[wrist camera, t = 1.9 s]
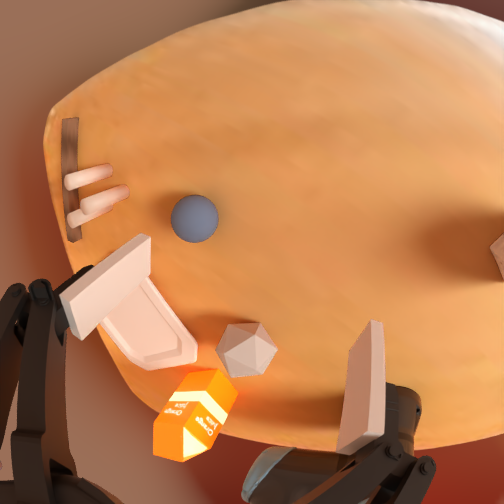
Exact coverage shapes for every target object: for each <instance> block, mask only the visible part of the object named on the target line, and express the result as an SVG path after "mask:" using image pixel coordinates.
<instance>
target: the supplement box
mask: <svg viewBox="0 0 504 504" xmlns="http://www.w3.org/2000/svg"><path fill="white" fill-rule="evenodd" d="M490 250H491V252H492V253H493V255H494V257H495V260H496V262H497V264H498V267H499V269H500V272H501V274H502V277H503V280H504V233H503V234H502V235H501V236H500V237H499V238H498V239H497V240H496V241H495V242H494V243H493V244H492V245H491V246H490Z"/></svg>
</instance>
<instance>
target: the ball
mask: <svg viewBox="0 0 504 504" xmlns="http://www.w3.org/2000/svg"><path fill="white" fill-rule="evenodd" d="M171 224H172V228H173V230H174V232H175V233H176V234H177V235H178V237H180V238H181V239H183V240H185V241H187V242H192V243H197V242H202V241H204V240H206V239H208V238H209V237H210V236H211V235H212V234H213V233H214V232H215V230H216V228H217V225H218V212H217V209H216V207H215V206H214V204H213V203H212V202H211V201H210V200H209V199H207V198H205V197H203V196H199V195H190V196H187V197H184V198H183V199H181V200H180V201H179V202H178V203H177V204H176V205H175V207H174V208H173V211H172V214H171Z"/></svg>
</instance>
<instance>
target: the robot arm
mask: <svg viewBox="0 0 504 504" xmlns="http://www.w3.org/2000/svg"><path fill="white" fill-rule="evenodd" d="M150 253H151V237H150V236H147V235H145V234H142V233H140V234H138V235H137V236H135V237H134V238H133V239H131V240H130V241H128V242H127V243H126V244H124V245H123V246H121V247H120V248H119V249H117V250H116V251H115V252H113V253H112V254H111V255H109V256H108V257H107V258H105V259H104V260H103V261H101V262H100V263H99V264H97V265H96V266H93V265H89V266H86V267H84V268H82V269H81V270H79V271H78V272H77V273H76V274H74V275H73V276H72V277H71V278H69V279H68V280H67V281H65V282H64V283H63V284H61V285H60V286H59V287H58V288H56V289H55V290H54V291H53V290H52V287H51V284H50V282H49V281H48V280H46V279H37V280H35V281H33V282H32V283H31V284H30V285H29V287H28V289H29V292H30V293H28V292H27V290H26V288H25V286H24V285H23V284H21V283H16V284H13V285H11V286H10V287H9V288H8V289H7V291H6V292H5V294H4V296H3V297H2V299H1V301H0V449H1V446H2V443H3V439H4V435H5V430H6V425H7V420H8V416H9V411H10V407H11V404H12V400H13V397H14V393H15V390H16V387H17V383H18V380H19V385H18V401H17V429H16V430H15V431H13V432H12V434H11V457H12V468H13V477H14V480H8V481H0V504H124V503H122V502H121V501H120V500H119V499H118V498H117V497H115V496H114V495H112V494H111V493H109V492H108V491H106V490H105V489H103V488H102V487H100V486H98V485H96V484H94V483H92V482H90V481H88V480H86V479H84V478H79V477H78V476H77V471H76V466H75V462H74V459H73V457H72V455H71V453H70V449H69V441H68V432H67V420H66V403H65V358H66V339H67V332H66V329H67V328H68V327H69V326H70V329H71V331H72V334H74V335H75V336H76V337H77V338H79V339H80V340H83V339H84V338H85V337H86V336H87V335H88V334H89V333H90V332H91V331H92V330H93V329H94V328H95V327H96V326H97V325H98V324H99V323H100V322H101V321H102V320H103V319H104V318H105V317H106V316H107V315H108V314H109V313H110V312H111V311H112V310H113V309H114V308H115V307H116V306H117V305H118V304H119V303H120V302H121V301H122V300H123V299H124V298H125V297H126V296H127V295H128V294H129V293H131V292H132V291H133V290H134V289H135V288H136V287H137V286H138V285H139V284H140V283H141V282H142V281H143V280H144V279H145V278H146V277H147V276H149V275H150V274H151V272H150ZM16 321H17V323H16ZM15 323H16V324H15ZM421 411H422V407H421V399H420V396H419V395H418V394H417V393H416V392H415V391H413V390H411V389H408V388H405V387H398V386H395V385H394V384H390V383H387V382H385V347H384V330H383V323H381V322H378V321H375V320H372V319H371V320H370V321H369V323H368V324H367V326H366V327H365V329H364V330H363V332H362V333H361V335H360V336H359V338H358V339H357V340H356V342H355V343H354V345H353V346H352V348H351V349H350V350H349V359H348V370H347V379H346V388H345V396H344V404H343V411H342V418H341V424H340V430H339V436H338V442H337V447H336V452H325V451H312V450H302V449H297V448H296V447H292V448H286V447H270V448H268V449H266V450H265V451H263V452H262V453H261V454H260V455H259V457H258V458H257V459H256V461H255V462H254V464H253V465H252V467H251V469H250V471H249V472H248V475H247V477H246V479H245V481H244V484H243V491H242V498H243V500H245V501H246V502H248V503H250V504H421V502H422V500H423V498H424V496H425V494H426V492H427V490H428V488H429V486H430V484H431V481H432V479H433V477H434V474H435V471H436V464H435V462H434V460H433V459H432V458H431V457H429V456H422V457H420V458H419V459H417V458H416V457H414V435H415V432H416V429H417V426H418V423H419V419H420V416H421ZM1 469H2V463H1V461H0V470H1Z"/></svg>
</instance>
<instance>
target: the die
mask: <svg viewBox="0 0 504 504" xmlns="http://www.w3.org/2000/svg"><path fill="white" fill-rule="evenodd" d="M277 350H278V349H277V347H276V346H275V344H274V343H273V341H272V340H271V338H270V337H269V335H268V334H267V332H266V330H265V329H264V327H263V326H262V324H261V323H243V324H228V326H227V328H226V330H225V332H224V334H223V336H222V338H221V340H220V342H219V344H218V346H217V348H216V352H217V354H218V356H219V358H220V359H221V361H222V363H223V365H224V366H225V368H226V370H227V372H228V373H229V375H230V377H231V378H233V377H243V376H252V375H261V374H263V373H264V371H265V370H266V368H267V366H268V365H269V363H270V362H271V360H272V358H273V357H274V355H275V353H276V352H277Z"/></svg>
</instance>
